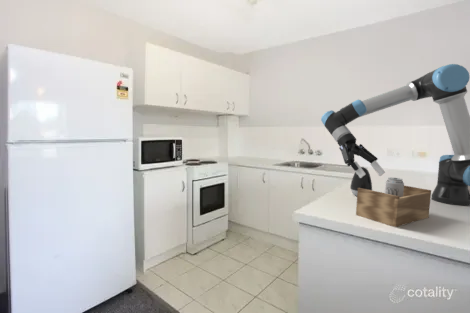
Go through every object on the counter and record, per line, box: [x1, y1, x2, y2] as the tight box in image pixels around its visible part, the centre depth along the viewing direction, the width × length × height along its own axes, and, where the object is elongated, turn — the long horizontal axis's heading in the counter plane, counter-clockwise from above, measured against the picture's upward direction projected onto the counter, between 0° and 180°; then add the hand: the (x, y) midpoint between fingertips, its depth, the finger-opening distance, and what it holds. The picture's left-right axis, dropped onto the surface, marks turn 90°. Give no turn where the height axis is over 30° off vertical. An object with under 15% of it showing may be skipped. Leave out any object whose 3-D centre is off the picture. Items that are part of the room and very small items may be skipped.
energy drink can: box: [384, 177, 405, 197], centre depth 100 cm, size 6×6×15 cm
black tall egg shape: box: [349, 166, 373, 197], centre depth 133 cm, size 10×10×15 cm
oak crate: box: [355, 185, 432, 228], centre depth 100 cm, size 15×24×11 cm, turn 120°
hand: (373, 175), depth 106 cm, fingers open, 13 cm apart
